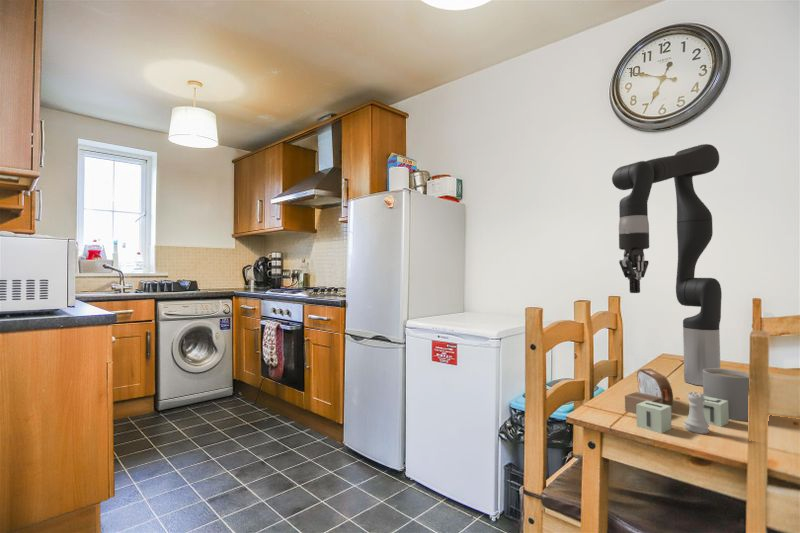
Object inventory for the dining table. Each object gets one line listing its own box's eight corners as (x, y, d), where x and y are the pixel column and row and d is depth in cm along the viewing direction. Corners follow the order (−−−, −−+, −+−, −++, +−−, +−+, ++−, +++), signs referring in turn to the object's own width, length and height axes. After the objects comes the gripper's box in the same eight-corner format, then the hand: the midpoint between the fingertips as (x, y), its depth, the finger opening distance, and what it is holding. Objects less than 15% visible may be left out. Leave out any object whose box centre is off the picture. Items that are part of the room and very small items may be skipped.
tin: (674, 413, 99) (673, 378, 99) (660, 412, 99) (660, 378, 99) (647, 395, 113) (646, 365, 114) (635, 394, 114) (634, 365, 114)
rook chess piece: (679, 427, 89) (678, 390, 89) (697, 426, 90) (697, 390, 90) (695, 434, 85) (694, 396, 85) (715, 434, 85) (714, 396, 85)
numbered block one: (647, 422, 92) (646, 399, 93) (671, 428, 88) (671, 405, 88) (636, 426, 90) (636, 403, 90) (661, 434, 85) (660, 409, 86)
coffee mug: (756, 424, 91) (754, 380, 91) (701, 414, 97) (700, 373, 98) (756, 409, 101) (755, 369, 101) (707, 401, 107) (706, 364, 108)
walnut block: (637, 407, 103) (636, 391, 103) (662, 413, 98) (662, 397, 98) (625, 411, 100) (624, 395, 100) (650, 418, 95) (650, 401, 95)
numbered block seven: (702, 416, 96) (702, 395, 96) (728, 422, 92) (728, 400, 92) (694, 420, 93) (693, 398, 93) (720, 427, 89) (720, 404, 89)
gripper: (631, 235, 122) (632, 292, 121) (608, 232, 114) (609, 293, 114) (658, 233, 116) (659, 292, 115) (636, 229, 108) (637, 294, 108)
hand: (634, 292), depth 114 cm, fingers closed
